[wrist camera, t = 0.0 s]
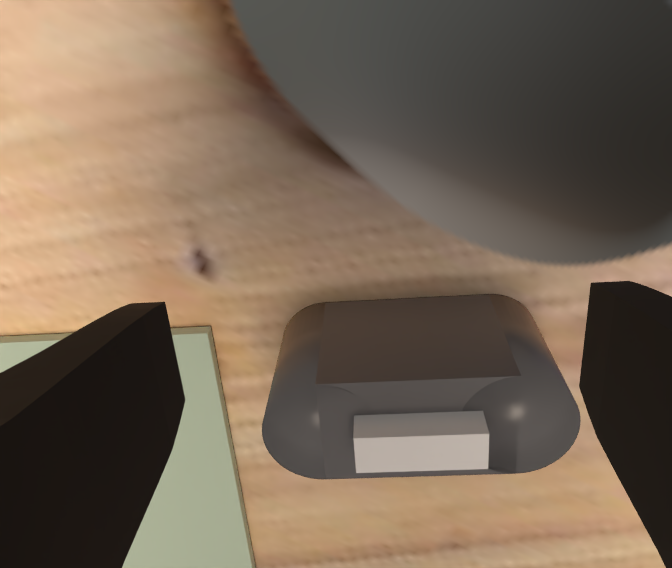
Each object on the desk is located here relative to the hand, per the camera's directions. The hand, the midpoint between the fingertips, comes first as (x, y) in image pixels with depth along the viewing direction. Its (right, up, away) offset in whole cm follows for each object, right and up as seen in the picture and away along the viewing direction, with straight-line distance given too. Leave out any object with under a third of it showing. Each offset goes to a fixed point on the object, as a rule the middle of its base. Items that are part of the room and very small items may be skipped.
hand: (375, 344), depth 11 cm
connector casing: (+2, -1, +12) cm, 12 cm away
